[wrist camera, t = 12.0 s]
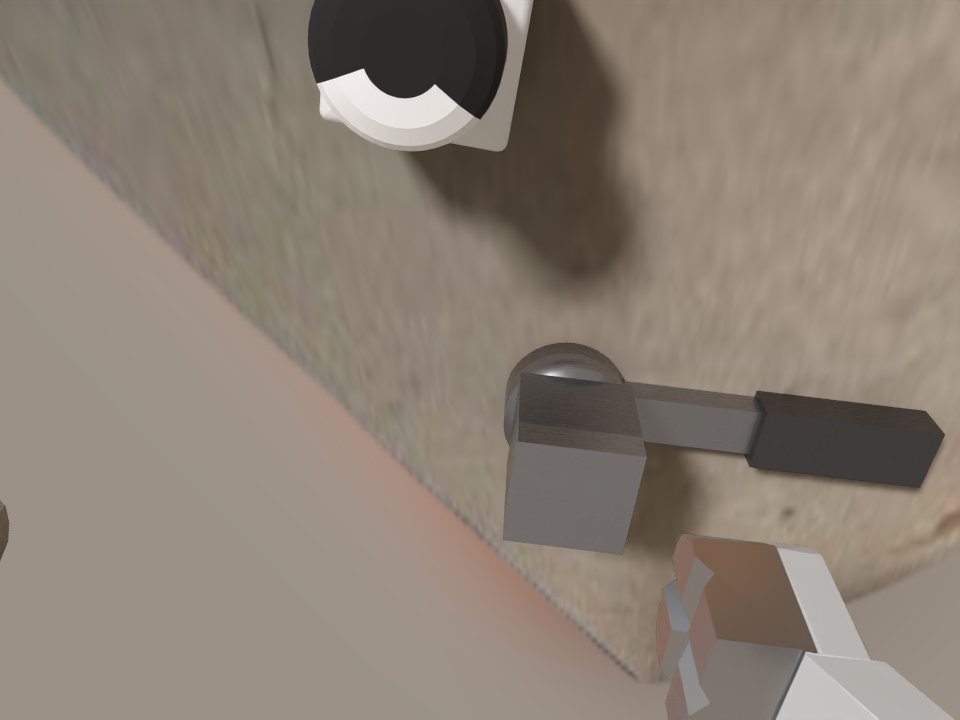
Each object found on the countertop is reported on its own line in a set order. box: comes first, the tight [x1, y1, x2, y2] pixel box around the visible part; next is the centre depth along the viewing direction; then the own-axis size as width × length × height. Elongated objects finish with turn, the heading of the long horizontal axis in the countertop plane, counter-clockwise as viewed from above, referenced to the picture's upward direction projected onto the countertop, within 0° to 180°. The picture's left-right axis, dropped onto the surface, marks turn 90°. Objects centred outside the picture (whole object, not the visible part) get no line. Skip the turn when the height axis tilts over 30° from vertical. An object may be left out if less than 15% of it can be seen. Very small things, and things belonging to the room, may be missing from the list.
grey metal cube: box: [503, 372, 647, 555], centre depth 37 cm, size 6×6×6 cm
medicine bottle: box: [308, 0, 534, 151], centre depth 28 cm, size 7×7×12 cm
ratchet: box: [504, 343, 945, 488], centre depth 39 cm, size 22×6×7 cm, turn 84°
